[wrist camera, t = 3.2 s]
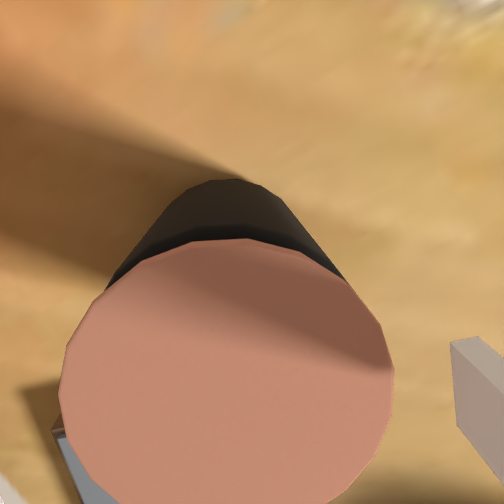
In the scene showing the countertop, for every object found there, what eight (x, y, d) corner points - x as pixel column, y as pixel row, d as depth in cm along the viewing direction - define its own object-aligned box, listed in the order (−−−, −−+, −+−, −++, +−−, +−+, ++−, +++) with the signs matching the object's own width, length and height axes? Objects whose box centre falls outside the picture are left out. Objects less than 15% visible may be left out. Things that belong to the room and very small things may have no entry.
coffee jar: (175, 331, 32) (114, 565, 15) (136, 194, 29) (2, 286, 12) (312, 302, 32) (412, 502, 15) (287, 162, 29) (376, 206, 12)
